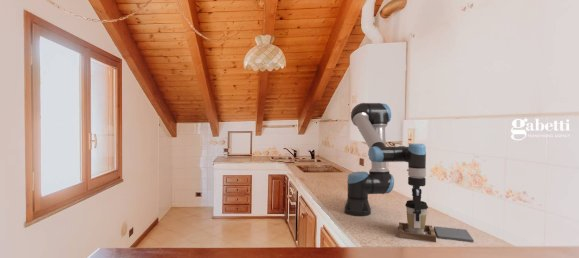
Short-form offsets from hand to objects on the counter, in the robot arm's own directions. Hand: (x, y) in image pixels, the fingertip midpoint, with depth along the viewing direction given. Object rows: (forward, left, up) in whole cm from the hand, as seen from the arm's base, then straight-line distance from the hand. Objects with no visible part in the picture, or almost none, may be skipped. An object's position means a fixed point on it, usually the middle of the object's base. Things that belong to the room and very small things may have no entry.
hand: (416, 224), depth 141 cm
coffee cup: (0, 0, -5) cm, 5 cm away
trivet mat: (-5, +16, -5) cm, 17 cm away
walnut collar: (0, 0, -5) cm, 5 cm away
